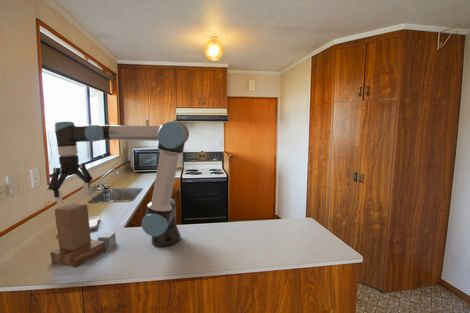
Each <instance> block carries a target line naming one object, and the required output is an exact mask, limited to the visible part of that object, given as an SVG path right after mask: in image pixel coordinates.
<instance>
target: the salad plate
mask: <svg viewBox="0 0 470 313" xmlns="http://www.w3.org/2000/svg"><path fill="white" fill-rule="evenodd" d="M100 217H101V216H100V215H95V216H94V215H93V216H88V218H89V227H90V231H91V230H93V229H95V228H96V227H98V221H99V219H100ZM55 233H56V234H57V230H56V231H55Z"/></svg>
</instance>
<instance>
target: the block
mask: <svg viewBox="0 0 470 313" xmlns="http://www.w3.org/2000/svg"><path fill="white" fill-rule="evenodd" d="M54 214H55V215H54V216H55V225H56V231H57V233H56V234H57V240H58V248H60V249H64V250H69V251H75V250H77V249H79V248H81V247H83V246H85V245H87V244H89V243H91V239H92V238H91V230H90V227H89V218H88V217H89V211H88V205H87V204H82V203H70V204H67V205H64V206H61V207H57V208H55V209H54Z"/></svg>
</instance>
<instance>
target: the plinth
mask: <svg viewBox="0 0 470 313" xmlns="http://www.w3.org/2000/svg"><path fill="white" fill-rule="evenodd" d="M106 251H107V250H106V248H105V242H104V241H98V239H92V238H91V243H89V244H87V245H85V246H83V247H81V248H79V249H77V250H75V251H69V250H64V249H60V248H59V247H58V248H57V249H53V250H52V251H50V259H51V260H50V261H51V263H54V264H58V265H62V266H66V267H70V268H76V269H77V268H79V267H81V266H82V265H83V264H86V263H87V262H89V261H91V260H93V259H94V258H96V257H98V256H99V255H101V254H104V253H105V252H106Z"/></svg>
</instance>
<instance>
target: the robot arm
mask: <svg viewBox="0 0 470 313" xmlns="http://www.w3.org/2000/svg"><path fill="white" fill-rule="evenodd" d="M54 129H55V131H54V133H55V138H56V144H57V152H58V156H59V157H58V160H59V166H60V167H53V168H52V171H53V172H52V177H51V179H50V182H49V185H48V187H47V188H48V189H47V190H50V191H53V197H54V198H55V200H56V205H63V204H64V202H63V196H62V195H63V194H62V190H61V189H60V188H61V186H63V183H64V181H65V180H66V178H67V177H69V176H73V175H76V176H77V177H78V178H79V179H80V180H81V181H83V182H82V188H83V196H84V197H89V196H90V183H91V182H92V181H93V180H94V178H93V176H91V174H90V172H89V171H88V169H87V168H86V164H85V163H79V162H80V160H79V155H78V154H79V152H78V144H77V143H80V142H82V143H83V142H84V143H85V142H97V141H100V142H101V141H114V140H115V141H150V142H152V141H155V142H156V141H158V146H157V150H158V151H159V158H158V164H157V169H156V175H155V181H154V187H153V192H152V198H151V201H150V202H148V204H147V205H146V206H147V207H146V212H145V215H144V217H143V218H142V220H141V228H142V231H143V232H144V233H145V234H147V235H148V236H151V245H153V246H154V247H158V248H160V247H161V248H167V247H170V246H174V245H176V244H178V243H179V242H180V241H181V239H182V238H181V233H180V231H179V228H178V226H177V214H176V209H177V208H176V200H175V199H173V198H172V195H173V194H172V193H173V189H174V184H175V178H176V174H177V168H178V163H179V159H180V158H179V157H180V156H181V155H182V154H183V153H184V149H185V143H187V141H188V140H189V138H190V132H189V129H188V127H187V125H186V124H184V123H182V122H179V121H168V122H165V123H162V124H161V125H128V124H127V125H123V124H122V125H119V124H118V125H114V124H112V125H110V124H100V125H99V124H85V125H83V124H81V125H75V123H74V121H56V122H55V123H54Z"/></svg>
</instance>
